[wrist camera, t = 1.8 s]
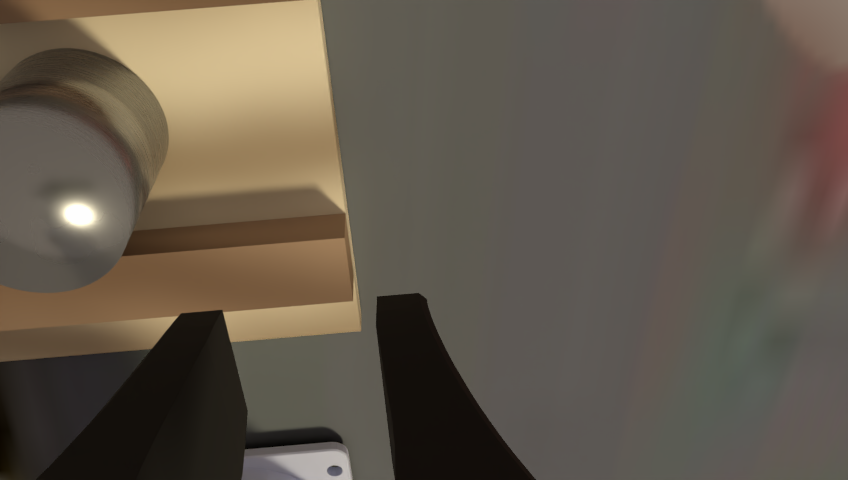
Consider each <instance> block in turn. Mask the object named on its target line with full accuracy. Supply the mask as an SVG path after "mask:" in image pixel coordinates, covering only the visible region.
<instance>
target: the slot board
mask: <svg viewBox="0 0 848 480" xmlns="http://www.w3.org/2000/svg"><path fill="white" fill-rule="evenodd" d="M57 48H74V49H83V50H87V51H92V52H96V53H98V54H101V55H104V56H107V57H109V58H111V59H113V60H115V61H117V62H119V63H121V64H122V65H124V66H125V67H127V68H128V69H130V70H131V71H132V72H134V73H135V74H136V75H137V76H138V77H139V78H140V79H141V80H143V81H144V82H145V83H146V85H147V86H148V87H149V88H150V89H151V91H152V92H153V93H154V95H155V96H156V98H157V100H158V101H159V103H160V105H161V107H162V109H163V111H164V114H165V117H166V120H167V125H168V131H169V144H168V151H167V155H166V158H165V161H164V163H163V165H162V167H161V170H160V172H159V174H158V176H157V179H156V181H155V183H154V185H153V188H152V190H151V192H150V194H149V196H148V199H147V201H146V203H145V205H144V208H143V210H142V212H141V214H140V216H139V219H138V221H137V223H136V225H135V228H134V230H133V232H132V234H131V236H130V239H129V241H128V243H127V245H126V248H125V250H124V252H123V254H122V256H121V258H120V259H119V261H118V262H117V264H116V265H115V266H114V267H113V268H112V269H111V270H110V271H109V272H108V273H107V274H105V275H104V276H103V277H102V278H100V279H98V280H97V281H95V282H93V283H91V284H89V285H87V286H84V287H81V288H78V289H74V290H71V291H65V292H58V293H37V292H28V291H22V290H17V289H13V288H9V287H6V286H3V285H0V362H4V361H16V360H28V359H39V358H51V357H63V356H74V355H86V354H98V353H109V352H121V351H133V350H144V349H152V348H153V347H154V345H155V344H156V343H157V342H158V340H159V339H160V338H161V337H162V335H163V334H164V333H165V332H166V330H167V329H168V328H169V327H170V326H171V324H172V323H173V322H174V321H175V320H176V318H177V317H178V316H179V315H180V314H181V313H190V312H202V311H214V310H223V314H224V318H225V322H226V326H227V330H228V334H229V338H230V342H238V341H249V340H261V339H273V338H285V337H296V336H308V335H320V334H331V333H343V332H355V331H361V308H360V301H359V293H358V285H357V278H356V270H355V262H354V255H353V247H352V239H351V232H350V224H349V216H348V209H347V201H346V193H345V186H344V178H343V170H342V163H341V155H340V147H339V140H338V132H337V125H336V117H335V109H334V102H333V94H332V86H331V79H330V71H329V63H328V56H327V48H326V40H325V33H324V25H323V17H322V10H321V2H320V0H0V81H1V80H2V79H3V78H4V76H5V75H6V74H7V73H8V72H9V71H10V70H11V69H13V68H14V67H15V66H16V65H17V64H18V63H19V62H21V61H22V60H24V59H25V58H27V57H29V56H31V55H33V54H36V53H38V52H42V51H45V50H50V49H57Z"/></svg>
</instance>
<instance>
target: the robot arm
mask: <svg viewBox="0 0 848 480" xmlns="http://www.w3.org/2000/svg"><path fill="white" fill-rule="evenodd" d="M376 329H377V337H378V346H379V354H380V362H381V371H382V379H383V388H384V396H385V404H386V413H387V421H388V430H389V438H390V446H391V455H392V463H393V469H394V476H395V480H536V479H535V478H534V477H533V476H532V475H531V473H530V472H529V471H528V470H527V469H526V467H525V466H524V465H523V464H522V463H521V461H520V460H519V459H518V458H517V457H516V455H515V454H514V453H513V452H512V450H511V449H510V448H509V447H508V445H507V444H506V443H505V441H504V440H503V439H502V437H501V436H500V435H499V433H498V432H497V431H496V429H495V428H494V426H493V425H492V424H491V422H490V421H489V419H488V418H487V416H486V415H485V414H484V412H483V411H482V409H481V408H480V406H479V405H478V403H477V402H476V400H475V399H474V397H473V396H472V394H471V392H470V391H469V389H468V387H467V386H466V384H465V382H464V381H463V379H462V377H461V376H460V374H459V372H458V371H457V369H456V367H455V366H454V364H453V362H452V360H451V358H450V356H449V355H448V353H447V351H446V349H445V347H444V345H443V343H442V340H441V338H440V336H439V334H438V332H437V330H436V327H435V325H434V323H433V320H432V317H431V314H430V311H429V308H428V304H427V299H426V298H424V297H423V296H422V295H420V294H419V293H414V294H402V295H391V296H379V297H377V312H376ZM247 412H248V411H247V407H246V403H245V399H244V395H243V391H242V387H241V382H240V378H239V374H238V370H237V366H236V362H235V358H234V354H233V350H232V346H231V342H230V338H229V334H228V330H227V326H226V322H225V318H224V314H223V310H214V311H202V312H190V313H181V314H180V315H179V316H178V317H177V318H176V320H175V321H174V322H173V323H172V324H171V326H170V327H169V328H168V329H167V330H166V332H165V333H164V334H163V335H162V337H161V338H160V339H159V340H158V342H157V343H156V344H155V345H154V347H153V348H152V349H151V351H150V352H149V353H148V354H147V356H146V357H145V358H144V359H143V361H142V362H141V363H140V364H139V366H138V367H137V368H136V369H135V370H134V372H133V373H132V374H131V375H130V377H129V378H128V379H127V380H126V381H125V383H124V384H123V385H122V386H121V387H120V389H119V390H118V391H117V392H116V393H115V394H114V396H113V397H112V398H111V399H110V400H109V402H108V403H107V404H106V405H105V406H104V407H103V409H102V410H101V411H100V412H99V413H98V415H97V416H96V417H95V418H94V419H93V420H92V421H91V422H90V424H89V425H88V426H87V427H86V428H85V429H84V430H83V431H82V432H81V433H80V434H79V435H78V437H77V438H76V439H75V440H74V441H73V442H72V443H71V444H70V445H69V446H68V447H67V448H66V449H65V450H64V452H63V453H62V454H61V455H60V456H59V457H58V458H57V459H56V460H55V461H54V462H53V463H52V464H51V465H50V466H49V467H48V468H47V469H46V470H45V471H44V472H43V473H42V474H41V475H40V476H39V477H38V478H37V479H36V480H353V478H352V472H351V465H350V459H349V453H348V450H347V447H346V446H344V445H343V444H341V443H338V442H324V443H313V444H301V445H290V446H279V447H267V448H256V449H245V440H246V426H247ZM333 465H335V466H338V467H331V466H333Z"/></svg>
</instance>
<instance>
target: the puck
mask: <svg viewBox="0 0 848 480" xmlns="http://www.w3.org/2000/svg"><path fill="white" fill-rule="evenodd" d="M168 144H169V131H168V125H167V120H166V117H165V114H164V111H163V109H162V107H161V105H160V103H159V101H158V100H157V98H156V96H155V95H154V93H153V92H152V91H151V89H150V88H149V87H148V86H147V85H146V83H145V82H144V81H143V80H141V79H140V78H139V77H138V76H137V75H136V74H135V73H134V72H132V71H131V70H130V69H128V68H127V67H125V66H124V65H122V64H121V63H119V62H117V61H115V60H113V59H111V58H109V57H107V56H104V55H101V54H98V53H96V52H92V51H87V50H83V49H74V48H57V49H50V50H45V51H42V52H38V53H36V54H33V55H31V56H29V57H27V58H25V59H24V60H22V61H21V62H19V63H18V64H17V65H16V66H15V67H14V68H13V69H11V70H10V71H9V72H8V73H7V74H6V75H5V76H4V78H3V79H2V80H1V81H0V285H3V286H6V287H9V288H13V289H17V290H22V291H28V292H37V293H58V292H65V291H71V290H74V289H78V288H81V287H84V286H87V285H89V284H91V283H93V282H95V281H97V280H98V279H100V278H102V277H103V276H104V275H105V274H107V273H108V272H109V271H110V270H111V269H112V268H113V267H114V266H115V265H116V264H117V262H118V261H119V259H120V258H121V256H122V254H123V252H124V250H125V248H126V245H127V243H128V241H129V239H130V236H131V234H132V232H133V230H134V228H135V225H136V223H137V221H138V219H139V216H140V214H141V212H142V210H143V208H144V205H145V203H146V201H147V199H148V196H149V194H150V192H151V190H152V188H153V185H154V183H155V181H156V179H157V176H158V174H159V172H160V170H161V167H162V165H163V163H164V161H165V158H166V155H167V151H168Z"/></svg>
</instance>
